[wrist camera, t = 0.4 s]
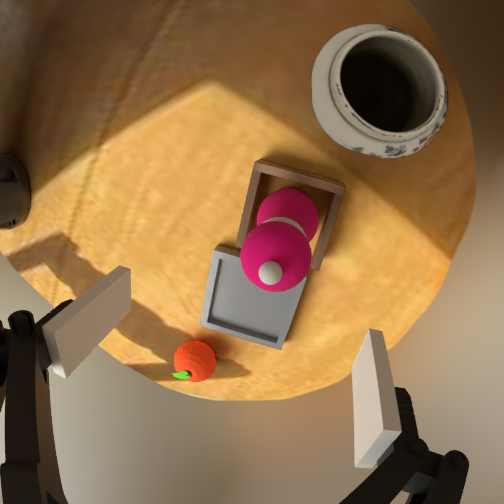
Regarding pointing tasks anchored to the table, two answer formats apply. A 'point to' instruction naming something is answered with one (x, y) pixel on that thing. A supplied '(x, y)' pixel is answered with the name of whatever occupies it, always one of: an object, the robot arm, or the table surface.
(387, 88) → the apothecary jar
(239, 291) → the tray
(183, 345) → the clementine
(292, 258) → the pepper mill
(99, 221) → the table surface
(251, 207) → the cubby
